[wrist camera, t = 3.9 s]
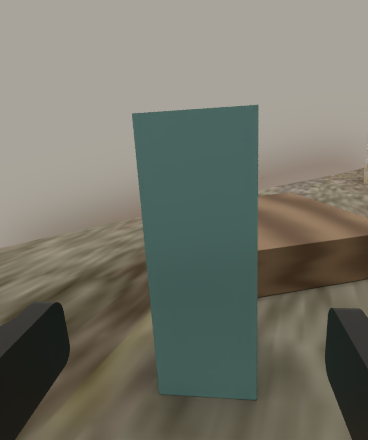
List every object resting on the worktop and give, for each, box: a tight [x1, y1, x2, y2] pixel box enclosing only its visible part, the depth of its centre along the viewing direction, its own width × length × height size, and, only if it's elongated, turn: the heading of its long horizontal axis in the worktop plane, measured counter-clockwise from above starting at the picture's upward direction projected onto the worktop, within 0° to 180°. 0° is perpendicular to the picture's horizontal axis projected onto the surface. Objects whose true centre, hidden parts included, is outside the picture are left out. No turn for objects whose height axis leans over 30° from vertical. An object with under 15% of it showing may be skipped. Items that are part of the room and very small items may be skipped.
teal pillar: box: [132, 105, 258, 400], centre depth 17 cm, size 5×5×14 cm
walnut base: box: [257, 193, 368, 297], centre depth 34 cm, size 18×18×4 cm
